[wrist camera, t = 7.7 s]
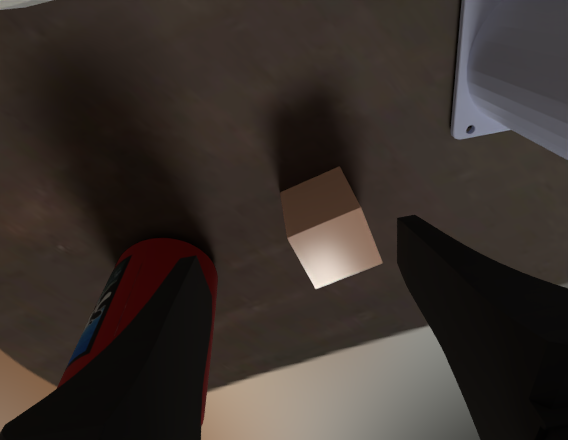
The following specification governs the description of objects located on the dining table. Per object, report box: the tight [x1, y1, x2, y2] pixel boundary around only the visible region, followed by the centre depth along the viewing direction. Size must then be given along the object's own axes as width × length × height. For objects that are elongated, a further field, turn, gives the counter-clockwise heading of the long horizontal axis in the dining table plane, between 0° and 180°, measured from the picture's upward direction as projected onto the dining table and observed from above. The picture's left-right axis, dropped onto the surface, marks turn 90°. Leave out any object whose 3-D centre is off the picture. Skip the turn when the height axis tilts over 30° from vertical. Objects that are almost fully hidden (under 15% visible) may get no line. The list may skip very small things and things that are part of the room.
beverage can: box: [57, 238, 218, 426], centre depth 20 cm, size 7×7×12 cm
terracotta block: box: [280, 166, 382, 289], centre depth 22 cm, size 4×4×5 cm
